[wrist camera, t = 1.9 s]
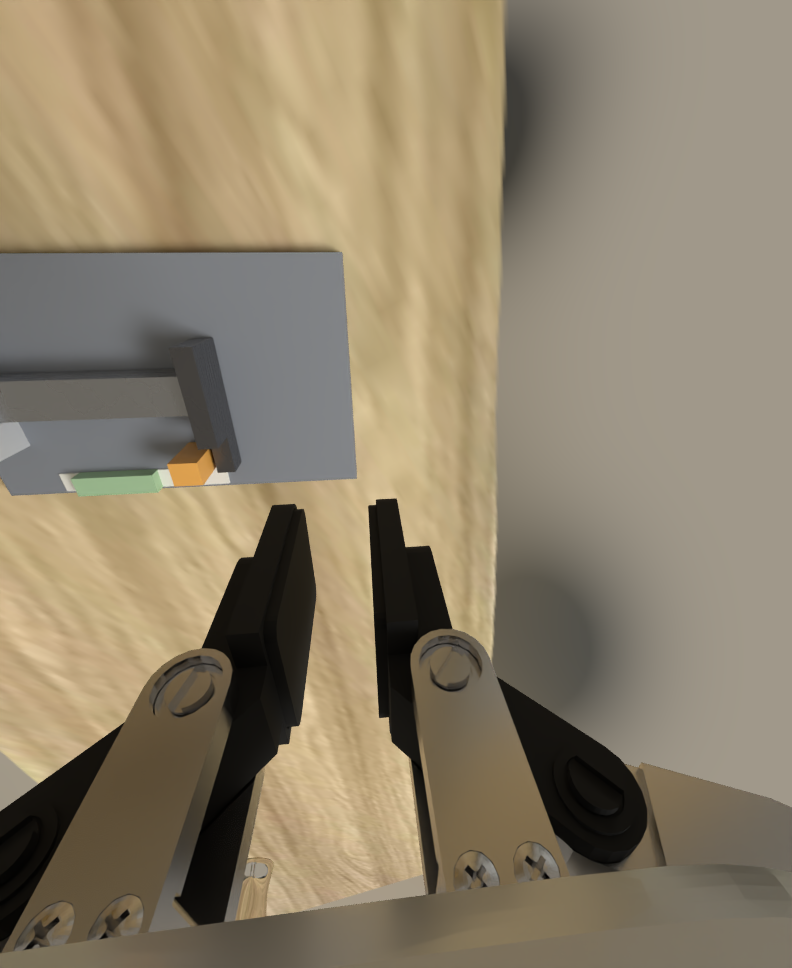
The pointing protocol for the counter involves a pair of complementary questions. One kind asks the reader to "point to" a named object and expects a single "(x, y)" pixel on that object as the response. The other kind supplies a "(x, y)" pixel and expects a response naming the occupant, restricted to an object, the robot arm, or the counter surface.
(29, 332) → the board
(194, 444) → the orange block
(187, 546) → the counter surface
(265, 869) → the beer glass
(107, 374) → the plunger
